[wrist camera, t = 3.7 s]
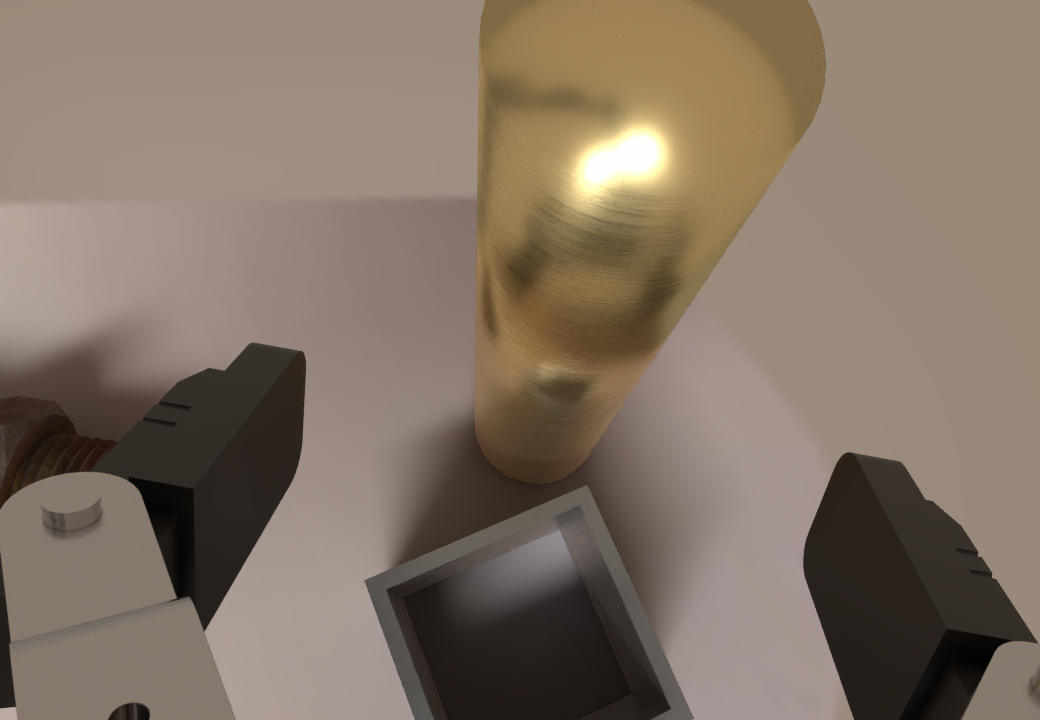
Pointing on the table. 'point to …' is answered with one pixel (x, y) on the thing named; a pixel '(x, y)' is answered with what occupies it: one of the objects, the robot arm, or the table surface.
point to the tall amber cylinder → (615, 194)
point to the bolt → (41, 444)
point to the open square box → (655, 691)
